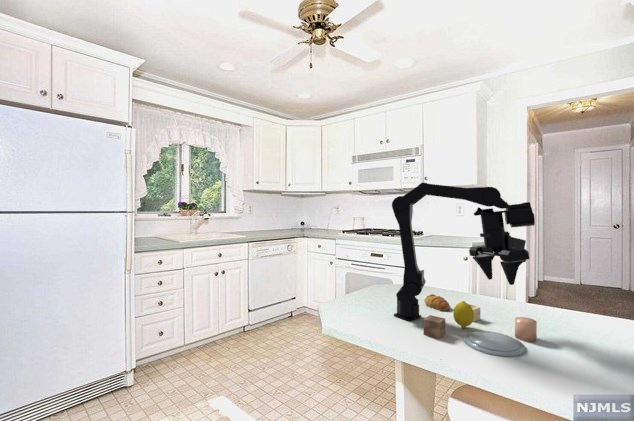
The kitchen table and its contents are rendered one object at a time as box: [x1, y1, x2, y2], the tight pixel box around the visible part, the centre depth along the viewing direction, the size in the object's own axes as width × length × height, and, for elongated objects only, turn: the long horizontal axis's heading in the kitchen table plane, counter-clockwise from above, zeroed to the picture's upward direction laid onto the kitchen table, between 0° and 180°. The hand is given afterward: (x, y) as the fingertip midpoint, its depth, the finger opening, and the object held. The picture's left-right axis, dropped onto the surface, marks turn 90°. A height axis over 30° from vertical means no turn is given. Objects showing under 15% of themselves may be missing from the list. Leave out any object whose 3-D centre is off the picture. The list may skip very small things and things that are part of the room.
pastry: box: [424, 293, 451, 311], centre depth 117 cm, size 9×7×4 cm
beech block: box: [468, 303, 481, 323], centre depth 106 cm, size 6×4×4 cm, turn 33°
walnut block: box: [423, 314, 446, 340], centre depth 93 cm, size 4×4×4 cm
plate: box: [463, 330, 526, 358], centre depth 86 cm, size 14×14×1 cm
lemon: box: [452, 300, 474, 329], centre depth 97 cm, size 6×6×8 cm
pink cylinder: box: [514, 316, 538, 343], centre depth 90 cm, size 5×5×5 cm
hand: (500, 281), depth 96 cm, fingers open, 9 cm apart
